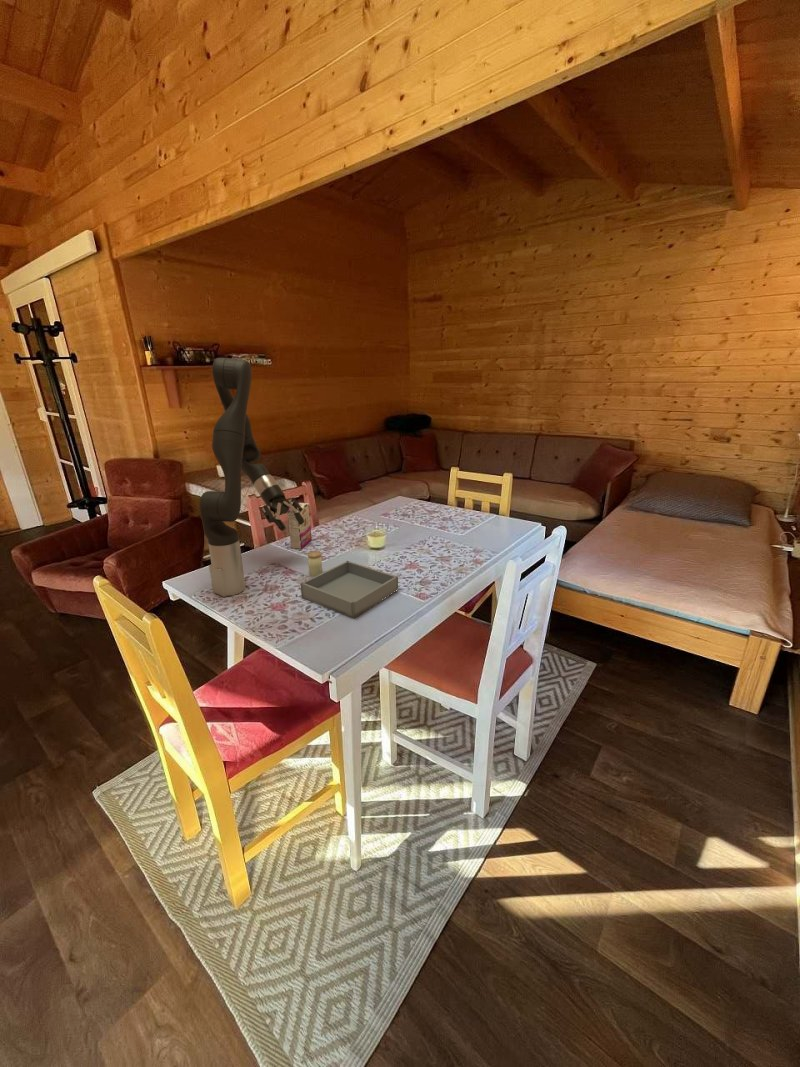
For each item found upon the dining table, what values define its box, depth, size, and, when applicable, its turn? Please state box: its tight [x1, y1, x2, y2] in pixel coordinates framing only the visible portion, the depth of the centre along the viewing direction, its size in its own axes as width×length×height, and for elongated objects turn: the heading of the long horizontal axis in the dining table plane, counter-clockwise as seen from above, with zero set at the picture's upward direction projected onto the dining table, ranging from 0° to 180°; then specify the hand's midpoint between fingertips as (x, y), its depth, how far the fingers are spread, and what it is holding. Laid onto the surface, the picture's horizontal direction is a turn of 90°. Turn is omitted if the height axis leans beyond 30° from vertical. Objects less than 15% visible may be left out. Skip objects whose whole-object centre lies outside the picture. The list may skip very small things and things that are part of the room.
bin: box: [300, 560, 399, 619], centre depth 144 cm, size 22×22×5 cm
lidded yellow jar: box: [307, 550, 323, 578], centre depth 158 cm, size 5×5×8 cm
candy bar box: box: [287, 502, 313, 550], centre depth 184 cm, size 11×5×16 cm, turn 168°
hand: (293, 526), depth 159 cm, fingers open, 8 cm apart
